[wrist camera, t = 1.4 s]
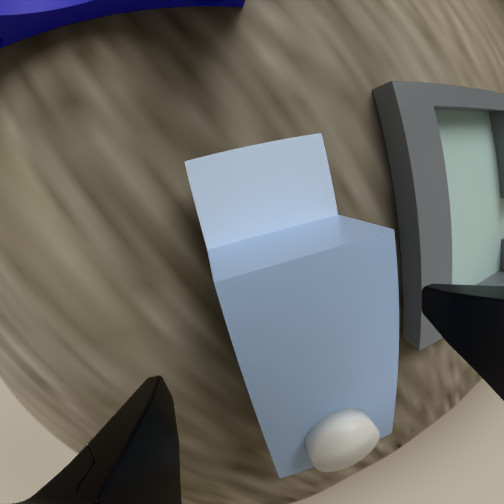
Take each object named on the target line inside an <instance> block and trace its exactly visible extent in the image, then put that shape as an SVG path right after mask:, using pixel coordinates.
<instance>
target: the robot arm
mask: <svg viewBox="0 0 504 504" xmlns="http://www.w3.org/2000/svg"><path fill="white" fill-rule="evenodd" d="M421 308H422V312H423V314H424V316H425V317H426V318H427V319H428V320H429V322H430V323H431V324H432V325H433V326H434V327H435V329H436V330H437V331H438V332H439V333H440V335H441V336H442V337H443V338H444V339H445V340H446V342H447V343H448V344H449V345H450V346H451V347H452V348H453V349H454V350H455V351H456V352H457V353H458V354H459V355H460V356H461V357H462V358H463V359H464V360H465V361H466V362H467V363H468V364H469V365H470V366H471V367H472V368H473V369H474V370H475V371H476V372H477V373H478V374H479V375H480V376H481V377H482V378H483V379H484V380H485V381H486V382H487V383H488V384H489V385H490V387H491V388H492V389H493V390H494V391H495V392H496V393H497V394H498V395H499V396H500V397H501V398H502V399H503V400H504V286H486V285H457V284H429V285H427V286H425V287H423V289H422V305H421ZM14 504H182V502H181V485H180V460H179V439H178V432H177V425H176V418H175V411H174V403H173V398H172V396H171V393H170V392H169V390H168V388H167V386H166V384H165V382H164V380H163V378H162V377H161V376H154V377H149V378H147V379H146V381H145V382H144V383H143V384H142V385H141V386H140V387H139V388H138V389H137V390H136V392H135V393H134V394H133V395H132V396H131V397H130V398H129V399H128V400H127V402H126V403H125V404H124V405H123V406H122V407H121V408H120V409H119V410H118V411H117V413H116V414H115V415H114V416H113V417H112V418H111V419H110V420H109V421H108V422H107V424H106V425H105V426H104V427H103V428H102V429H101V430H100V431H99V432H98V433H97V434H96V436H95V437H94V438H93V439H92V440H91V441H90V442H89V443H88V445H86V446H85V448H84V449H83V450H82V451H81V452H80V453H79V454H78V455H77V456H76V457H75V458H74V459H73V460H72V461H71V462H70V463H69V464H68V465H67V466H66V467H65V468H64V469H63V470H62V471H61V472H60V473H59V474H57V475H56V476H55V477H54V478H53V479H52V480H51V481H49V482H48V483H47V484H46V485H45V486H44V487H43V488H41V489H40V490H39V491H38V492H37V493H36V494H35V495H33V496H32V497H31V498H29V499H27V500H25V501H23V502H19V503H14Z"/></svg>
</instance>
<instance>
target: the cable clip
mask: <svg viewBox="0 0 504 504" xmlns="http://www.w3.org/2000/svg"><path fill="white" fill-rule="evenodd" d="M244 2H245V0H0V48H3V47H5V46H7V45H10V44H12V43H15V42H17V41H20V40H22V39H25V38H28V37H30V36H33V35H36V34H39V33H42V32H45V31H48V30H51V29H55V28H58V27H61V26H65V25H68V24H72V23H76V22H80V21H84V20H89V19H93V18H98V17H103V16H108V15H113V14H119V13H125V12H132V11H140V10H148V9H158V8H171V7H191V6H225V7H243V5H244Z"/></svg>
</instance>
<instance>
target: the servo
mask: <svg viewBox="0 0 504 504" xmlns="http://www.w3.org/2000/svg"><path fill="white" fill-rule="evenodd" d="M185 166H186V170H187V174H188V178H189V182H190V186H191V190H192V194H193V198H194V202H195V206H196V210H197V214H198V218H199V221H200V225H201V229H202V233H203V236H204V240H205V244H206V247H207V251H208V256H209V261H210V266H211V271H212V276H213V281H214V285H215V288H216V292H217V295H218V298H219V302H220V305H221V308H222V312H223V315H224V318H225V322H226V325H227V328H228V331H229V334H230V338H231V341H232V344H233V347H234V350H235V353H236V356H237V360H238V363H239V366H240V369H241V372H242V375H243V378H244V381H245V384H246V387H247V390H248V393H249V396H250V399H251V401H252V404H253V407H254V410H255V413H256V416H257V419H258V422H259V424H260V427H261V430H262V433H263V436H264V438H265V441H266V444H267V446H268V449H269V452H270V455H271V457H272V460H273V463H274V465H275V468H276V470H277V473H278V476H279V478H280V479H281V478H284V477H287V476H290V475H293V474H297V473H300V472H303V471H305V470H308V469H311V468H314V467H315V468H316V469H317V470H319V471H322V472H334V471H339V470H342V469H345V468H348V467H350V466H352V465H354V464H356V463H357V462H359V461H360V460H362V459H363V458H365V457H366V456H367V455H368V454H369V453H370V452H371V451H372V450H373V449H374V447H375V446H376V444H377V443H378V440H379V439H381V438H383V437H385V436H387V435H389V434H391V433H392V428H393V420H394V411H395V401H396V390H397V376H398V356H399V291H398V270H397V256H396V244H395V234H394V229H391V228H387V227H383V226H380V225H376V224H372V223H368V222H365V221H361V220H357V219H353V218H349V217H345V216H341V215H338V212H337V206H336V201H335V195H334V190H333V185H332V180H331V175H330V170H329V165H328V160H327V156H326V151H325V147H324V142H323V138H322V134H321V133H319V134H312V135H306V136H300V137H294V138H288V139H282V140H277V141H272V142H267V143H261V144H256V145H252V146H247V147H242V148H238V149H233V150H229V151H224V152H220V153H216V154H212V155H208V156H204V157H200V158H196V159H192V160H188V161H185Z"/></svg>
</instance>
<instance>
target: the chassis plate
mask: <svg viewBox="0 0 504 504" xmlns="http://www.w3.org/2000/svg"><path fill="white" fill-rule="evenodd" d="M372 90H373V94H374V97H375V101H376V105H377V109H378V113H379V117H380V121H381V125H382V130H383V134H384V139H385V144H386V148H387V154H388V159H389V164H390V170H391V176H392V182H393V188H394V195H395V202H396V210H397V218H398V227H399V238H400V249H401V263H402V283H403V339H404V340H406V341H407V342H408V343H410V344H411V345H412V346H413V347H415V348H416V349H417V350H419V351H420V350H422V349H424V348H426V347H428V346H429V345H431V344H433V343H435V342H436V341H438V340H440V339H441V338H443V337H442V336H441V335H440V333H439V332H438V331H437V330H436V329H435V327H434V326H433V325H432V324H431V323H430V322H429V320H428V319H427V318H426V317H425V316H424V314H423V312H422V308H421V305H422V289H423V287H425V286H427V285H429V284H457V285H486V286H504V94H503V93H498V92H493V91H487V90H481V89H475V88H469V87H461V86H453V85H444V84H434V83H421V82H403V81H391V82H389V83H386V84H384V85H381V86H379V87H377V88H375V89H372Z"/></svg>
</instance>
